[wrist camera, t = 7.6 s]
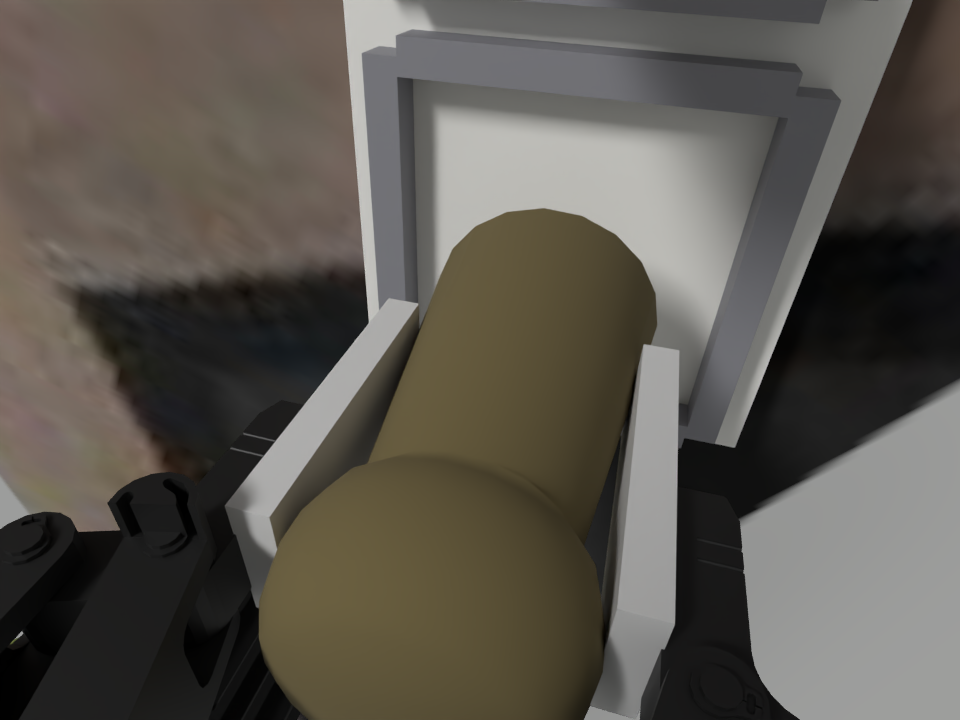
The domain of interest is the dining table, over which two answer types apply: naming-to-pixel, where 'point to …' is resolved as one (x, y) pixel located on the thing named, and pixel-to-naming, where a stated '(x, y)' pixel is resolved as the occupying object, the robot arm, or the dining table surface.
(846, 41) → the pin board
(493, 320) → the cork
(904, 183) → the dining table surface
